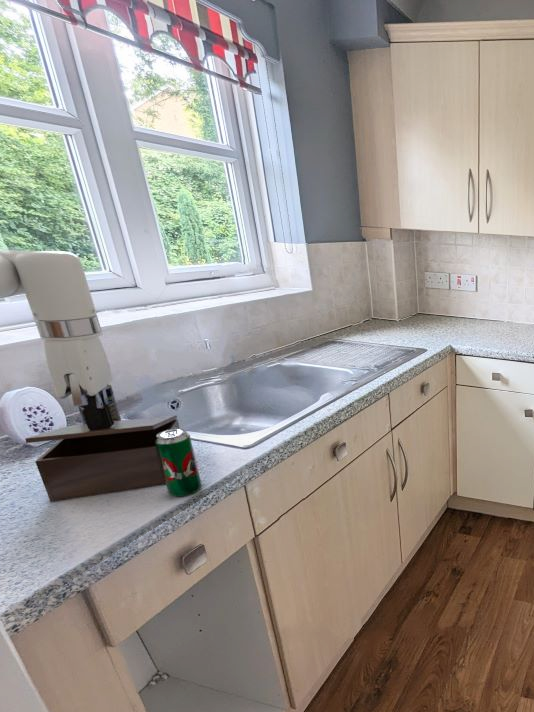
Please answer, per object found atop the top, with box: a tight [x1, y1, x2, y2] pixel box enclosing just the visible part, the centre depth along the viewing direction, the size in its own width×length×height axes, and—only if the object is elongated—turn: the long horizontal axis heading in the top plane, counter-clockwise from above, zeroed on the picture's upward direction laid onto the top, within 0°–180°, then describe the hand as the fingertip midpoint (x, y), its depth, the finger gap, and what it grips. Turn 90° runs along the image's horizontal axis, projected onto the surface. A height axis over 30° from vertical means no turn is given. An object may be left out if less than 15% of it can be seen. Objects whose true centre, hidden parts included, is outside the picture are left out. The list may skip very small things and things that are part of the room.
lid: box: [24, 414, 178, 444], centre depth 86 cm, size 15×17×1 cm
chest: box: [34, 418, 181, 502], centre depth 89 cm, size 14×17×8 cm
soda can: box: [155, 428, 202, 498], centre depth 83 cm, size 5×5×12 cm
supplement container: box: [76, 384, 122, 424], centre depth 106 cm, size 7×7×10 cm
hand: (101, 427), depth 83 cm, fingers closed
